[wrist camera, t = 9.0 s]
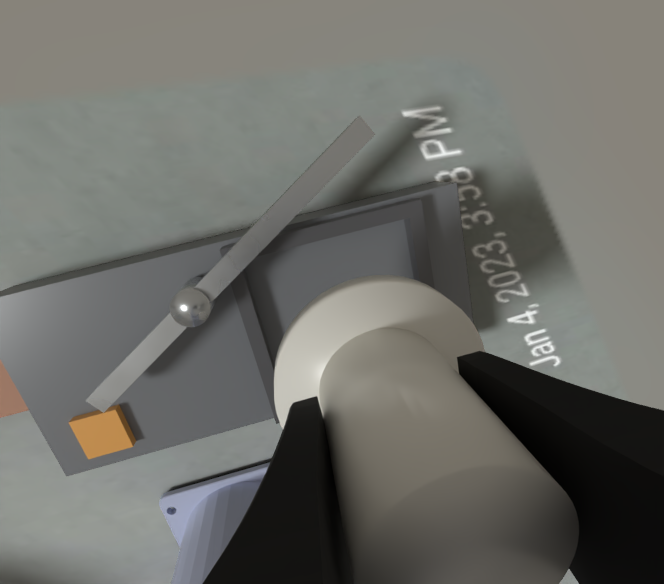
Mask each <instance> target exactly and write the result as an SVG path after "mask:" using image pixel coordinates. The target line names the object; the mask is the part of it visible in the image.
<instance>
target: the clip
mask: <svg viewBox="0 0 664 584" xmlns="http://www.w3.org/2000/svg"><path fill="white" fill-rule="evenodd" d="M374 135H375V133H374V132H373V131H372V130H371V128H370V127H369V126H368V125H367V124H366V123H365V121H364V120H363V119H362V118H361V117H360V116H359V117H357V118H356V119H355V120H354V121H353V122H352V123H351V124H350V125H349V126H348V127H347V128H346V129H345V130H344V131H343V132H342V133H341V134H340V135H339V136H338V137H337V139H336V140H335V141H334V142H333V143H332V144H331V145H330V146H329V147H328V148H327V149H326V150H325V151H324V152H323V153H322V154H321V155H320V156H319V157H318V158H317V159H316V160H315V161H314V162H313V163H312V165H311V166H310V167H309V168H308V169H307V170H306V171H305V172H304V173H303V174H302V175H301V176H300V177H299V178H298V179H297V180H296V181H295V182H294V183H293V184H292V185H291V186H290V187H289V188H288V189H287V190H286V192H285V193H284V194H283V195H282V196H281V197H280V198H279V199H278V200H277V201H276V202H275V203H274V204H273V205H272V206H271V207H270V208H269V209H268V210H267V211H266V212H265V213H264V214H263V215H262V216H261V218H260V219H259V220H258V221H257V222H256V223H255V224H254V225H253V226H252V227H251V228H250V229H249V230H248V231H247V232H246V233H245V234H244V235H243V236H242V237H241V238H240V239H239V240H238V241H237V242H236V244H235V245H234V246H233V247H232V248H231V249H230V250H229V251H228V252H227V253H226V254H225V255H224V256H223V257H222V258H221V259H220V260H219V261H218V262H217V263H216V264H215V265H214V266H213V267H212V268H211V270H210V271H209V272H208V273H207V274H206V275H205V276H204V277H194V278H191V279H189V280H188V281H187V282H186V283H185V284H184V285H183V287H182V288H181V289H180V290H179V291H178V293H177V294H176V295H175V296H174V297H173V299H172V300H171V303H170V312H169V313H168V314H167V315H166V316H165V317H164V318H163V319H162V320H161V321H160V323H159V324H158V325H157V326H156V327H155V328H154V329H153V330H152V331H151V332H150V333H149V334H148V335H147V336H146V337H145V338H144V339H143V340H142V341H141V342H140V343H139V344H138V345H137V346H136V347H135V349H134V350H133V351H132V352H131V353H130V354H129V355H128V356H127V357H126V358H125V359H124V360H123V361H122V362H121V363H120V364H119V365H118V366H117V367H116V368H115V369H114V370H113V371H112V372H111V373H110V375H109V376H108V377H107V378H106V379H105V380H104V381H103V382H102V383H101V384H100V385H99V386H98V387H97V388H96V389H95V390H94V391H93V393H92V394H91V395H90V396H89V397H88V398H87V400H86V402H88V403H89V404H91V405H92V406H94V407H95V408H97V409H99V410H100V411H102V412H103V413H104V412H105V411H106V410H107V409H108V408H109V407H110V406H111V405H112V404H113V403H114V402H115V401H116V400H117V399H118V398H119V397H120V396H121V395H122V394H123V393H124V392H125V391H126V389H127V388H128V387H129V386H130V385H131V384H132V383H133V382H134V381H135V380H136V379H137V378H138V377H139V376H140V375H141V374H142V373H143V372H144V371H145V370H146V369H147V368H148V367H149V366H150V365H151V364H152V363H153V362H154V361H155V360H156V359H157V358H158V357H159V356H160V355H161V354H162V353H163V352H164V351H165V349H166V348H167V347H168V346H169V345H170V344H171V343H172V342H173V341H174V340H175V339H176V338H177V337H178V336H179V335H180V334H181V333H182V332H183V331H184V330H185V329H186V328H187V327H196V326H199V325H201V324H203V323H204V322H205V321H206V320H207V318H208V317H209V315H210V312H211V310H212V308H213V306H214V304H215V302H216V300H217V297H218V295H219V294H220V293H221V292H222V291H223V290H224V289H225V288H226V287H227V286H228V285H229V284H230V283H231V282H232V281H233V280H234V279H235V278H236V277H237V276H238V275H239V274H240V273H241V272H242V271H243V269H244V268H245V267H246V266H247V265H248V264H249V263H250V262H251V261H252V260H253V259H254V258H255V257H256V256H257V255H258V254H259V253H260V252H261V251H262V250H263V249H264V248H265V247H266V246H267V245H268V244H269V243H270V242H271V241H272V240H273V239H274V238H275V237H276V236H277V235H278V234H279V233H280V232H281V230H282V229H283V228H284V227H285V226H286V225H287V224H288V223H289V222H290V221H291V220H292V219H293V218H294V217H295V216H296V215H297V214H298V213H299V212H300V211H301V210H302V209H303V208H304V207H305V206H306V205H307V204H308V203H309V202H310V201H311V200H312V199H313V198H314V197H315V196H316V195H317V194H318V193H319V192H320V190H321V189H322V188H323V187H324V186H325V185H326V184H327V183H328V182H329V181H330V180H331V179H332V178H333V177H334V176H335V175H336V174H337V173H338V172H339V171H340V170H341V169H342V168H343V167H344V166H345V165H346V164H347V163H348V162H349V161H350V160H351V159H352V158H353V157H354V156H355V155H356V154H357V153H358V152H359V150H360V149H361V148H362V147H363V146H364V145H365V144H366V143H367V142H368V141H369V140H370V139H371V138H372V137H373V136H374Z"/></svg>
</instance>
